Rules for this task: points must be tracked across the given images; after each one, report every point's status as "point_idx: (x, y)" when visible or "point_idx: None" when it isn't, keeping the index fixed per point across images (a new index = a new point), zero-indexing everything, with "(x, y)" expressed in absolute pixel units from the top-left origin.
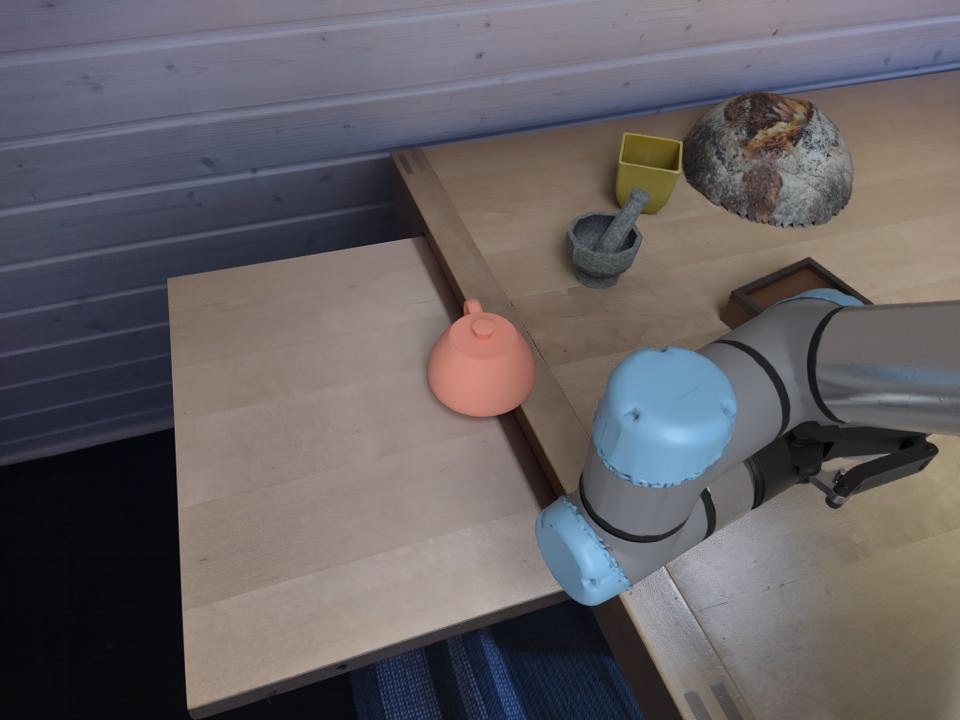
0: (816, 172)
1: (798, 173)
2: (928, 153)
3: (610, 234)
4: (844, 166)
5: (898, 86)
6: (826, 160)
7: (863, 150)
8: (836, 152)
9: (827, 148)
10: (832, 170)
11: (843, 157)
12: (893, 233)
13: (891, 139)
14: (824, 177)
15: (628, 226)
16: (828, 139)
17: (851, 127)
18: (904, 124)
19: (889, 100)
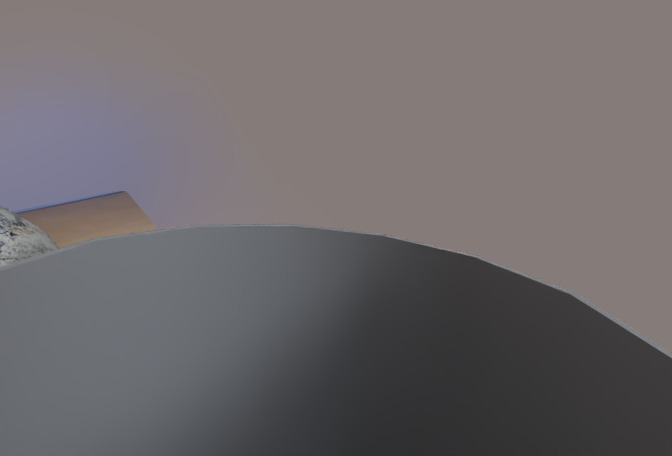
0: (2, 254)
1: None
2: (137, 232)
3: None
4: (44, 244)
5: (86, 203)
6: (12, 239)
7: (72, 244)
8: (24, 231)
9: (8, 228)
10: (27, 249)
11: (38, 236)
12: None
13: (97, 231)
14: (18, 258)
15: None
16: (6, 219)
17: (51, 232)
18: (105, 221)
19: (82, 211)
